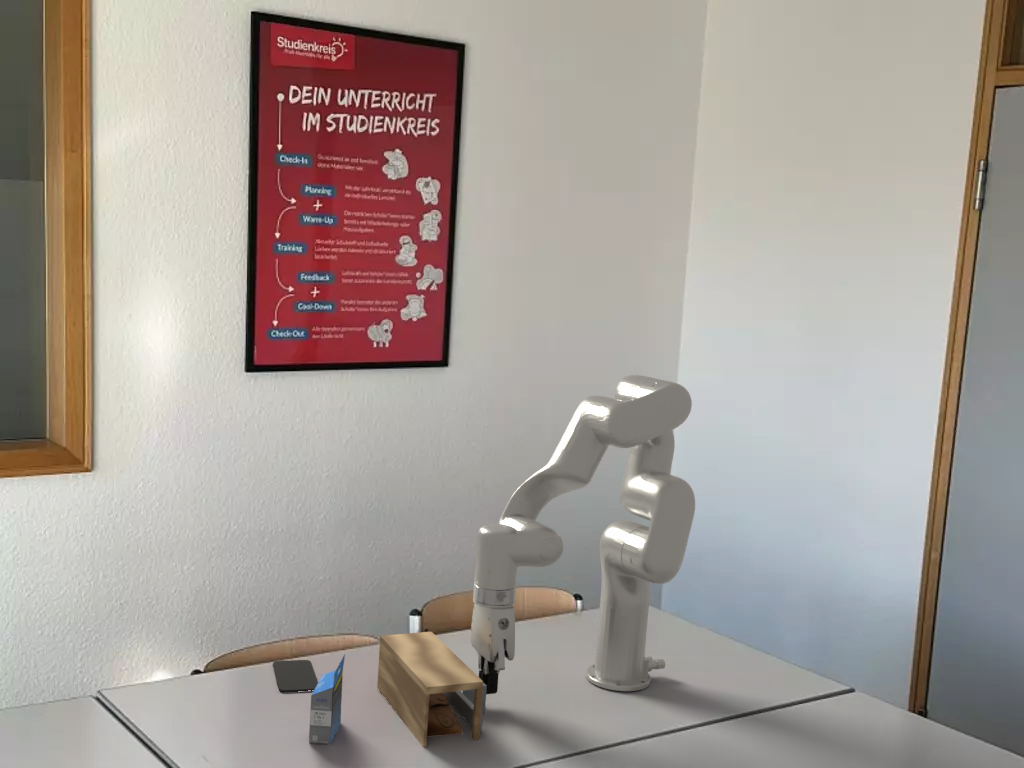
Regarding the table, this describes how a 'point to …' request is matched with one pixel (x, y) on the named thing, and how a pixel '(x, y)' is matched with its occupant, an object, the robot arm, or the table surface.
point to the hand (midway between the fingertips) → (487, 692)
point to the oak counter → (423, 678)
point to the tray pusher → (466, 703)
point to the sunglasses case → (441, 717)
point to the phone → (295, 675)
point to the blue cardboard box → (326, 707)
